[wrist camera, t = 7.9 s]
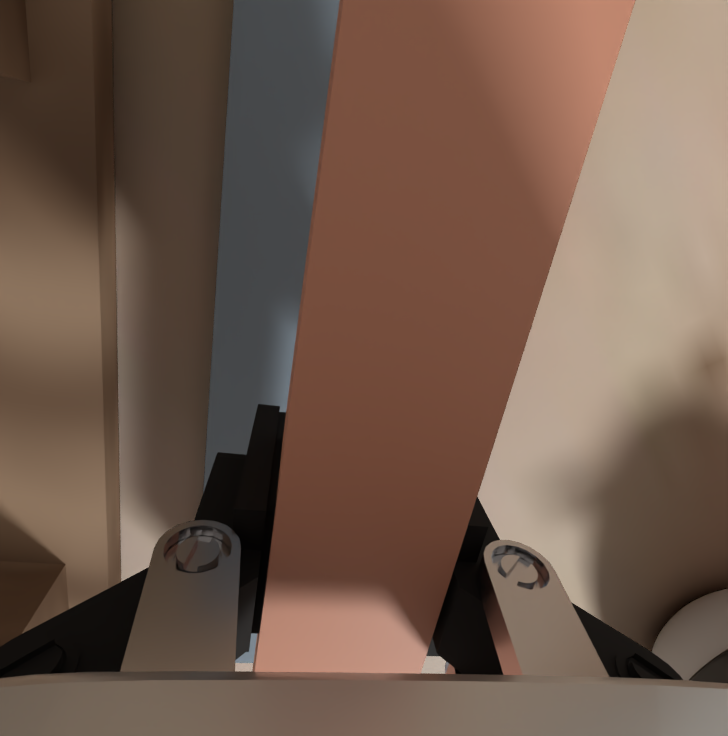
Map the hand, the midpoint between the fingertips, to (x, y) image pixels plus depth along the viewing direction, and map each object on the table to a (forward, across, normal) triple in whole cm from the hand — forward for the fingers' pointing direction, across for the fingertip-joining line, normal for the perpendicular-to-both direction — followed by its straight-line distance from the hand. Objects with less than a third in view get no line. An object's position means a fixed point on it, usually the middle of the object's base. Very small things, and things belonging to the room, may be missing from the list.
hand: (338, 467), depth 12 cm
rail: (-1, 0, 0) cm, 1 cm away
